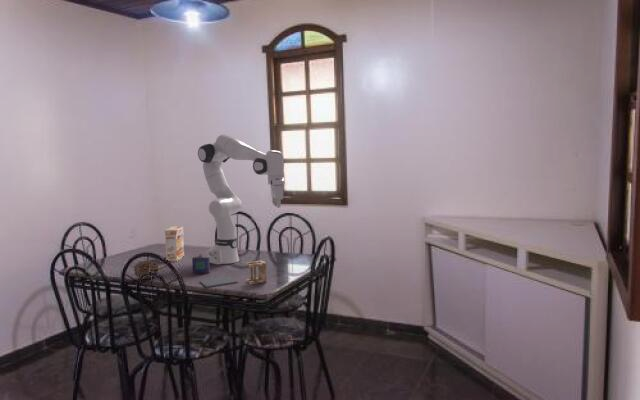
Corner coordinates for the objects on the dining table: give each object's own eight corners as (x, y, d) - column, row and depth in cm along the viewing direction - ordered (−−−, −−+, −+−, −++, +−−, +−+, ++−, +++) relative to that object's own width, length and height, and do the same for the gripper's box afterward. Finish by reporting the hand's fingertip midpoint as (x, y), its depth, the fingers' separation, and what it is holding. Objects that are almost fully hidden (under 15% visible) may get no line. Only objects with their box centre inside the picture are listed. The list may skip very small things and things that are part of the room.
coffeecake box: (177, 261, 282) (176, 230, 280) (165, 261, 282) (164, 230, 280) (184, 256, 297) (183, 226, 295) (173, 256, 297) (172, 226, 295)
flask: (210, 272, 257) (209, 253, 256) (209, 273, 255) (208, 254, 253) (193, 272, 257) (192, 253, 255) (192, 274, 254) (191, 254, 253)
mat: (229, 277, 246) (229, 276, 246) (237, 282, 236) (237, 281, 236) (199, 282, 237) (199, 280, 237) (206, 287, 228) (206, 286, 228)
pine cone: (141, 283, 236) (140, 264, 235) (129, 280, 241) (128, 262, 240) (175, 273, 255) (175, 255, 254) (164, 271, 260) (163, 253, 259)
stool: (262, 279, 242) (261, 260, 241) (266, 281, 238) (266, 262, 237) (245, 281, 238) (245, 262, 237) (250, 284, 233) (249, 265, 232)
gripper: (268, 180, 257) (269, 205, 259) (272, 182, 238) (273, 208, 239) (279, 179, 259) (280, 204, 260) (284, 181, 239) (286, 208, 240)
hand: (277, 206), depth 249 cm, fingers open, 8 cm apart
